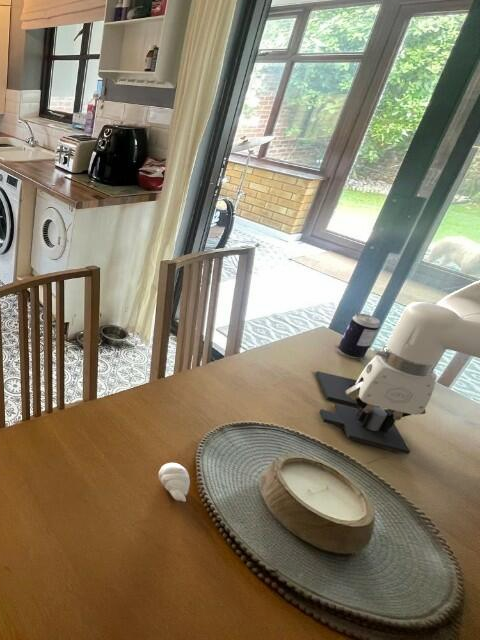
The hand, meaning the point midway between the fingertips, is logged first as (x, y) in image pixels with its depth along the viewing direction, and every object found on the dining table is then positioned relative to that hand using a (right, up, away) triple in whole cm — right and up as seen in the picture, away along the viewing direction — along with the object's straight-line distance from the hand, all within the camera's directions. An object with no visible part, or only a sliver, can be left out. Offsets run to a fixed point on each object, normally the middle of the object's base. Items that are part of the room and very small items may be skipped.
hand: (371, 424), depth 91 cm
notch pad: (+5, +3, +12) cm, 13 cm away
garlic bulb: (-50, -9, -12) cm, 52 cm away
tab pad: (-2, -1, +1) cm, 2 cm away
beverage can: (+19, +10, +25) cm, 33 cm away
